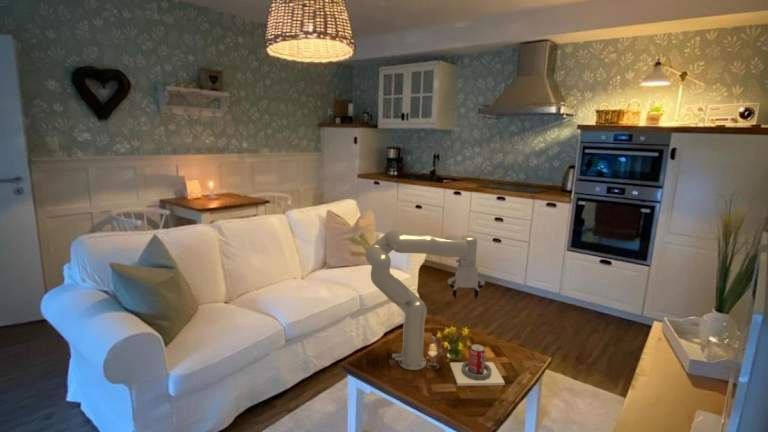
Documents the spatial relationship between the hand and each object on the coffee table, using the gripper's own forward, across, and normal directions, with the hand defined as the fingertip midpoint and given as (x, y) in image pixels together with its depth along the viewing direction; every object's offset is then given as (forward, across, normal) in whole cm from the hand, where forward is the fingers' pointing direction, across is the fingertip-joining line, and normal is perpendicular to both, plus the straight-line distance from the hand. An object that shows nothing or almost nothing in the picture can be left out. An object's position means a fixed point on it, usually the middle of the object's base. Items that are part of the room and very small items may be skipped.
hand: (465, 297), depth 190 cm
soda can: (+28, +3, -17) cm, 33 cm away
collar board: (+29, +3, -17) cm, 34 cm away
